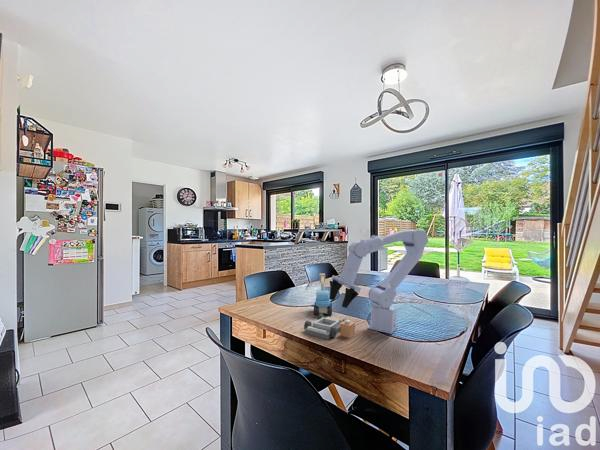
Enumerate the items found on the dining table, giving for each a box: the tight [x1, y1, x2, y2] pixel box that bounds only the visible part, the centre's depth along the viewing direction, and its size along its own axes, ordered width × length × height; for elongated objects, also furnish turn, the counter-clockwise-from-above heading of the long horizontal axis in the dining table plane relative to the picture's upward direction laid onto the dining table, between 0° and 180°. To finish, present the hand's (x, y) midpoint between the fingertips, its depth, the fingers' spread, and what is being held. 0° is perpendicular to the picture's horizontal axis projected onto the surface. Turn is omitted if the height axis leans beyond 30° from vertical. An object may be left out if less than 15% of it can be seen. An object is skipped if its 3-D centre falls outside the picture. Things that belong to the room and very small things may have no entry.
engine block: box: [339, 319, 356, 339], centre depth 97 cm, size 4×4×5 cm
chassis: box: [303, 313, 347, 340], centre depth 102 cm, size 12×16×4 cm
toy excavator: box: [313, 273, 333, 316], centre depth 126 cm, size 9×17×17 cm, turn 174°
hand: (337, 303), depth 101 cm, fingers open, 7 cm apart
